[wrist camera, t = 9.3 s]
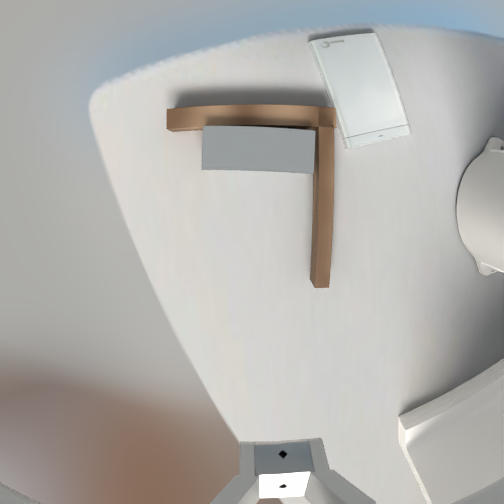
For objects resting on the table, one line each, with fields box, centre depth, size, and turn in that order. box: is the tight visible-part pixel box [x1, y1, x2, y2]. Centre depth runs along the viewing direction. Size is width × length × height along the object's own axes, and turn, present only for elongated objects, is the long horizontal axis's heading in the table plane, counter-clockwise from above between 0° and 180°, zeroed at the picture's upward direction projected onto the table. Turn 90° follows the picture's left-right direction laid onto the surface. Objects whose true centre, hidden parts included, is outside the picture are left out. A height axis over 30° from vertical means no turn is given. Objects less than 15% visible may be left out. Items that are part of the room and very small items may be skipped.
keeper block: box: [202, 126, 315, 174], centre depth 28 cm, size 10×4×4 cm, turn 88°
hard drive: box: [308, 33, 412, 149], centre depth 28 cm, size 2×8×12 cm
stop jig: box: [167, 105, 336, 288], centre depth 30 cm, size 16×18×2 cm
